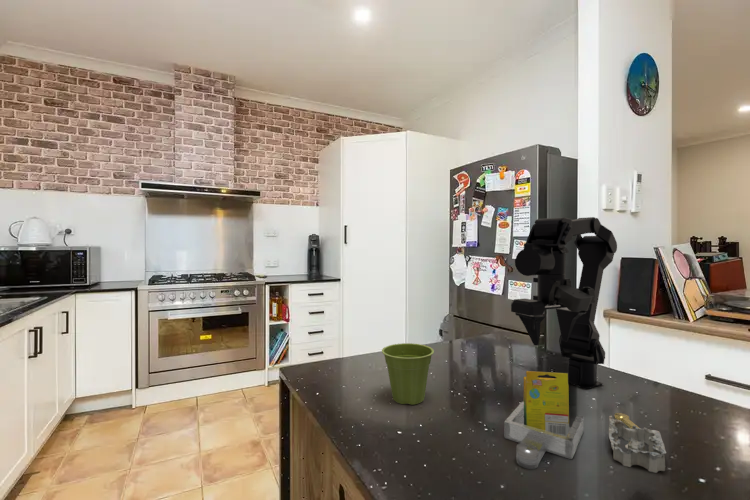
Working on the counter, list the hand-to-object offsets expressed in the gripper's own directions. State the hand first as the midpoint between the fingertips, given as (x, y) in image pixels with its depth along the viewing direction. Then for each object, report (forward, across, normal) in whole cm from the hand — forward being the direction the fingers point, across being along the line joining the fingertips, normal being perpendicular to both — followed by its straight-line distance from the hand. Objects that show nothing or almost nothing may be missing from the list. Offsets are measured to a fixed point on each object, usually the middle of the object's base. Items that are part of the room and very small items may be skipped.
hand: (550, 343), depth 83 cm
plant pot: (+13, -29, +14) cm, 35 cm away
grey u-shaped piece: (+13, -17, -12) cm, 25 cm away
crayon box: (+13, -14, -10) cm, 21 cm away
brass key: (+13, +4, -15) cm, 20 cm away
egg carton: (+14, -5, -21) cm, 25 cm away
